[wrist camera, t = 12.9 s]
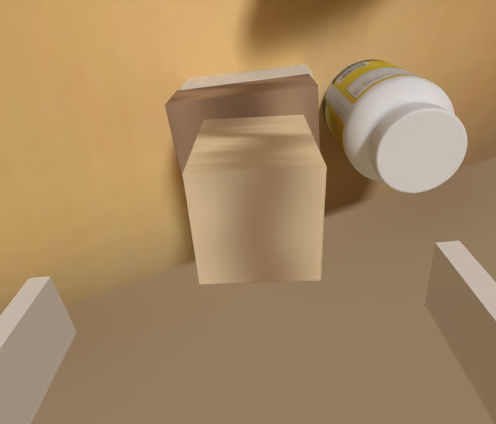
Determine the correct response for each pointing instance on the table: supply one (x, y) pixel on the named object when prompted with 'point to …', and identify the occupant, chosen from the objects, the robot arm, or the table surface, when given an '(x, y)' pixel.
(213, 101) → the walnut block upper
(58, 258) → the table surface
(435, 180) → the pill bottle
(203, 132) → the oak block
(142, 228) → the table surface
